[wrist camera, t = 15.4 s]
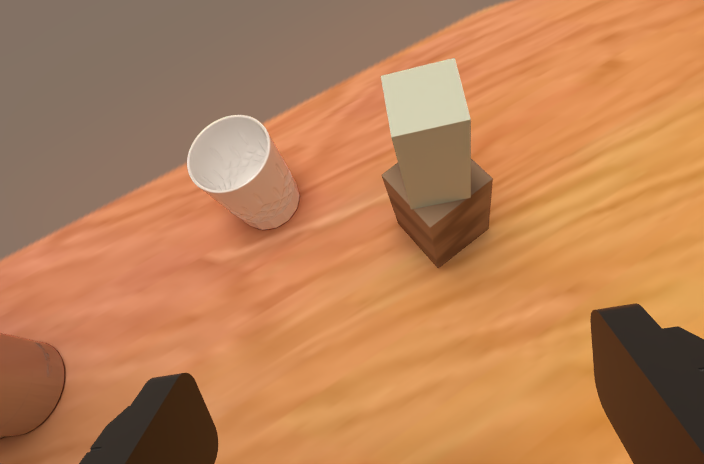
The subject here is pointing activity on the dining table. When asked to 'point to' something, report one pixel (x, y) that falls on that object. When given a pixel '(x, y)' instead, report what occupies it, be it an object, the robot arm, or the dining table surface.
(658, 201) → the dining table surface
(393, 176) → the tower upper
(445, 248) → the tower lower
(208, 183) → the white cup
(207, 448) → the robot arm
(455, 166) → the sage block
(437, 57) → the dining table surface
